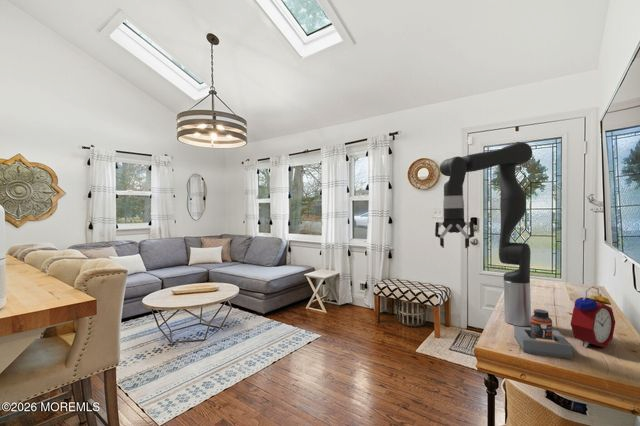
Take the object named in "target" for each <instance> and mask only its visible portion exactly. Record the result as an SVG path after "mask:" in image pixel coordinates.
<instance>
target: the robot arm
mask: <svg viewBox="0 0 640 426" xmlns="http://www.w3.org/2000/svg"><path fill="white" fill-rule="evenodd" d="M532 157H533V150H532V147H531V145H529V143H526V142H522V141H521V142H520V141H519V142H515V143H512V144H509V145H506V146H503V147H502V148H500V149H494V150H490V151H489V150H488V151H482V152H476V153H471V154H468V155H465V156H454V157H451V158H447V159H444V160H442V162H441V163H440V165H439V171H440V173H441V175H443V176H445V177H449V178H448V181H446V182H444V184H443V202H442V203H443V205H442V206H443V222H438V221H436V222H435V229H434V231H435V232H434V236H435V237H437V238H439V244H440V247H441V248H443V249H444V248H445V241H444V240H445V238H444V237H445V236H446V234H447V233H449V234H451V233H457V234H458V233H461V234H462V235H463V236H464V238H465V239H464V248H465V249H468V248H469V247H470V239H472V238H473V237H475V229H474V228H475V227H474V222H473V221H467V222H466V221H465V203H464V202H465V200H464V191H463V190H464V188H463V187H464V183H465V178H466V175H467V173H472V172H478V171H481V170H483V171H484V170H487V169H490V168H493V167H496V166H498V168H499V169H498V170H499V177H500V178H499V179H500V184H499V185H500V197H499V198H500V201H499V202H500V206H499V208H500V209H499V210H500V211H499V212H500V231H499V241H498V242H499V243H498V244H499V245H498V259H499V262H501V264H505V265H512V266H513V265H514V266H515V265H516V266H519V267H518V269H516V270H513V271H507V272H505V273H503V303H504V304H503V306H504V307H503V308H504V311H503V312H504V313H503V314H504V315H503V316H504V322H506V323H507V324H509V325H513V326H517V327H528V326H530V327H531V316H532V313H531V312H532V311H531V310H532V309H531V308H532V307H531V248H530V245H529V244H528V243H526V242H510V241H511V237H512V233H513V231H514V230H515V228H516V227H517V225H518V224H519V223H520V221H521V220H522V218H523V217H524V216H525V214H526V211H527V195H526V193H525V190H524V189H523V188H522V186H521V184H520V182H519V181H518V179H517V175H516V166H520V165H522V164H523V165H524V164H525V163H527V162H529V161H530V160H531V159H532ZM441 226H443V227H444V230H443V232H441V234H440V233H439V229H440V228H441ZM465 227H467V228H468V229H469V234H468V233H466V231H465V230H464V228H465Z"/></svg>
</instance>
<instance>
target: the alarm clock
mask: <svg viewBox="0 0 640 426" xmlns="http://www.w3.org/2000/svg"><path fill="white" fill-rule="evenodd" d="M591 289H595V290H597V291H596V292H597V294H595V295H594V294H592V295H590V296H589V297H588V291H590V290H591ZM611 304H612V303H611V302H610V299H609V298H608V297H605V296H603V295H602V293H600V289H599V288H598V287H596V286H591V287H589V288H587V290H585V295H584V297H579V298H576V299H575V301H574V306H573V310H572V313H571V312H566V313H567V314H569V315H570V316H571V320H569V322H570V327H571V330H572V334H573V337H574V339H576V340H579V341H581V342H584V343H583V346H584V348H587V347H589V344H591V345H594V346H597V347H600V348H603V349H605V348H606V347H607V346H608V345H609V344H610V342H611V341H612V340H613V338H614V333H615V327H616V320H615V315H614V312H613V308H612V307H610V305H611Z"/></svg>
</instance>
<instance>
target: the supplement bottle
mask: <svg viewBox="0 0 640 426" xmlns="http://www.w3.org/2000/svg"><path fill="white" fill-rule="evenodd" d="M549 314H550V313H549V311H548V310H545V309H542V308H541V309H539V308H536V309H533V315H532V314H531V325H530V328H531V338H534V339H536V338H539V339H547V340H552V330H553V320H552V318H551V317H550V316H549Z"/></svg>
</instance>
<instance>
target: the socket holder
mask: <svg viewBox="0 0 640 426" xmlns="http://www.w3.org/2000/svg"><path fill="white" fill-rule="evenodd" d="M513 326H514V327H513V328H514V329H513V330H514V331H513V332H514V333H513V335H514V339H515V340H516V342H517V344H518V346H519V348H520V349H521V350H522V352H523V353H528V354H534V355H542V356H549V357H556V358H557V357H558V358H564V359H565V358H567V359H573V357H574V356H573V354H574V353H573V345H572V344H571V343H570V342H569V341H568V340H567V339H566V338H565V337H564V336H563V335H562V333H560V332H559V331H558V330H556V329H555V330H553V329H552V340H547V339H539V338H536V339H534V338H531V327H528V326H517V325H513Z"/></svg>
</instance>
